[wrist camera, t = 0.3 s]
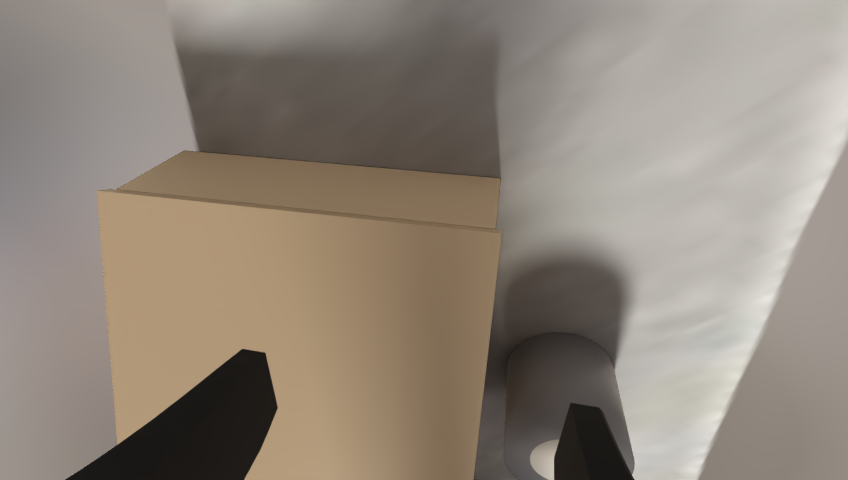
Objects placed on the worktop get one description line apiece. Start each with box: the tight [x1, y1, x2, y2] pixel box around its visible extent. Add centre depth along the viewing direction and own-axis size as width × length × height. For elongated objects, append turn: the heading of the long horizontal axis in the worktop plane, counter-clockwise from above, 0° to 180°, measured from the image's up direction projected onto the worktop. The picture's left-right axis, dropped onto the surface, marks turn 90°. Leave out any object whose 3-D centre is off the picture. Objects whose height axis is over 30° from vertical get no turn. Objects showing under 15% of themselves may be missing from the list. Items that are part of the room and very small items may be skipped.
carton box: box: [117, 151, 501, 230], centre depth 21 cm, size 13×14×4 cm
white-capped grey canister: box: [504, 333, 635, 480], centre depth 21 cm, size 5×5×5 cm
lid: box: [97, 189, 502, 480], centre depth 17 cm, size 13×14×1 cm
